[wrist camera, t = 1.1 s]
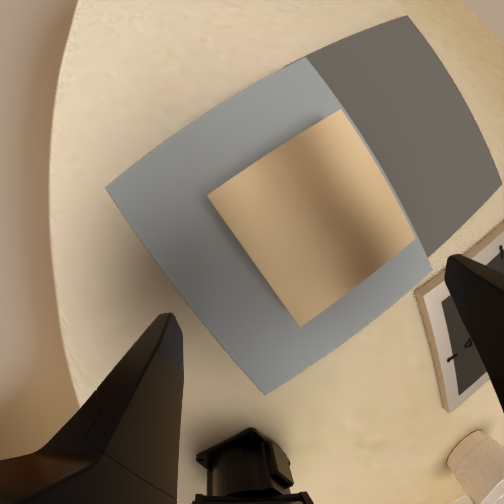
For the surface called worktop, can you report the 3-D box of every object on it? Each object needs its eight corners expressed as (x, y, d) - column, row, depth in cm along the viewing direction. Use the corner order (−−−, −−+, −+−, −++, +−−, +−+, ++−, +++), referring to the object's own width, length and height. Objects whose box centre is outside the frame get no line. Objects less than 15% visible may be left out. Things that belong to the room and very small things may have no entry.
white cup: (448, 444, 28) (489, 489, 18) (490, 417, 28) (532, 453, 18) (438, 477, 29) (471, 519, 19) (479, 452, 29) (513, 487, 20)
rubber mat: (408, 269, 23) (412, 271, 22) (283, 69, 20) (284, 66, 19) (498, 183, 23) (502, 183, 22) (404, 17, 20) (407, 15, 19)
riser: (257, 366, 23) (264, 395, 19) (125, 190, 20) (104, 187, 16) (403, 260, 23) (432, 270, 19) (291, 79, 20) (305, 56, 16)
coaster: (290, 311, 18) (300, 327, 16) (208, 196, 17) (206, 195, 14) (393, 233, 18) (415, 238, 16) (325, 120, 17) (340, 108, 14)
